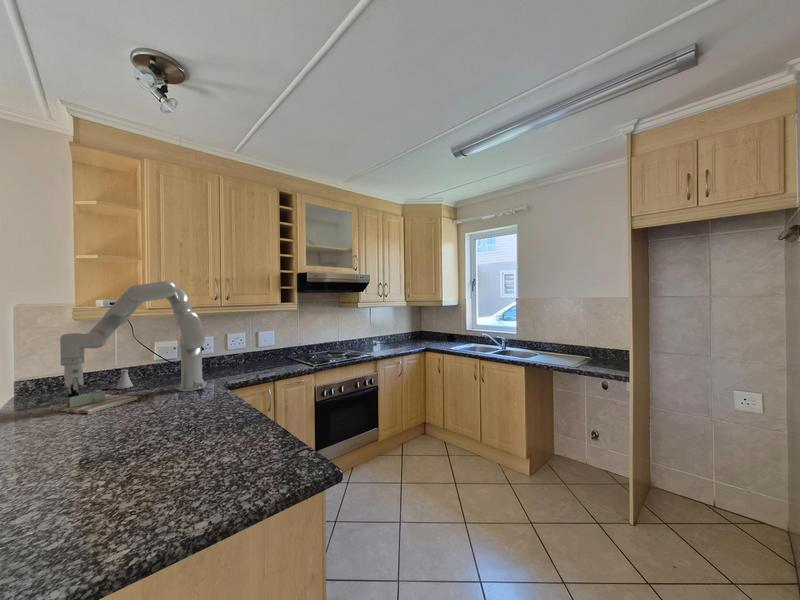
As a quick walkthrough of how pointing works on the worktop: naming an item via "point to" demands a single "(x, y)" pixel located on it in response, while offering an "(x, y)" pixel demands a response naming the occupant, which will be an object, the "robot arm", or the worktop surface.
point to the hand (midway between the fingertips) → (73, 402)
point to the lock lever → (86, 398)
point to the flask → (124, 380)
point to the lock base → (99, 404)
